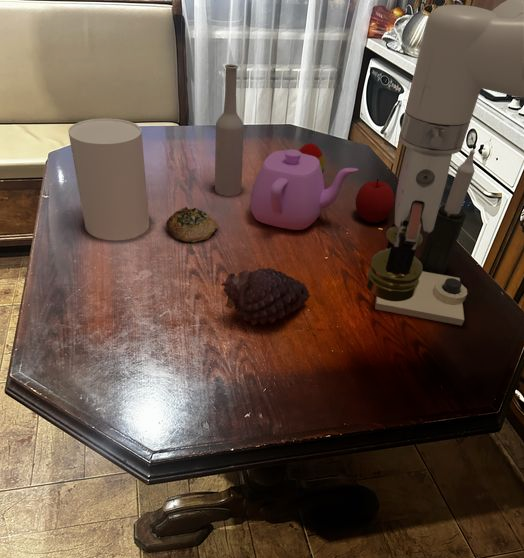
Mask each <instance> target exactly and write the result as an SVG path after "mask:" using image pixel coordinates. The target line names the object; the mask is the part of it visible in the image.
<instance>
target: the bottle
mask: <svg viewBox="0 0 524 558" xmlns="http://www.w3.org/2000/svg"><path fill="white" fill-rule="evenodd" d="M224 68H225V77H224V78H225V79H224V81H225V82H224V102H223V112H222V114H221V115H220V116H219V117H218V119H217V120H216V122H215V146H214V147H215V148H214V149H215V150H214V151H215V153H214V154H215V156H214V191H215V193H217V194H218V195H221V196H224V197H235V196H238V195H240V194H241V192H242V183H243V182H242V181H243V180H242V179H243V157H244V155H243V154H244V127H245V126H244V122H243V120H242V119H241V118H240V116H239V115H238V112H237V80H238V79H237V76H238V75H237V73H238V69H239V66H238V65H236V64H232V63H228V64H225V65H224Z"/></svg>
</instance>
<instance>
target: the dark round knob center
mask: <svg viewBox="0 0 524 558" xmlns="http://www.w3.org/2000/svg"><path fill="white" fill-rule="evenodd" d="M462 285H463V284H462V282H461V280H460V281H459V280H457V279H454V278H448V279H446V281H445V283H444V286H443V290H444V291H445V292H447V293H450V294H458V293H459V290H460V288H461V286H462Z"/></svg>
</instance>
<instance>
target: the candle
mask: <svg viewBox="0 0 524 558" xmlns="http://www.w3.org/2000/svg"><path fill="white" fill-rule="evenodd" d="M475 153H476V152H475V150H474V149H472V150H470V151H469V154H468V156H467V158H466V159H465V160H464V162H462V163H461V164H460V165H459V166H458V167H457V170H456V173H455V176H454V179H453V183H452V185H451V188H450V190H449V193H448V197H447V200H446V203H445V204H443V205H440V206H439V210H438V214H437V217H436V221H435V225H434V228H433V231H432V232H430V233H427V238H426V240H425V244H424V247H423V250H422V253H421V256H420V259H419V260H420V262H421V264H422V267H423V272H429V273H435V274H440V275H444V274H445V272H446V271H447V268H448V265H449V263H450V259H451V258H452V255H453V252H454V250H455V246H456V244H457V241H458V238H459V236H460V233H461V231H462V228H463V225H464V222H465V220H466V217H467V214H466V212H465V211H464V210H463V209H462V208H463V204H464V201H465V199H466V196H467V194H468V191H469V188H470V186H471V183H472V180H473V177H474V174H475V167H474V155H475Z"/></svg>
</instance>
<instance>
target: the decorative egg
mask: <svg viewBox="0 0 524 558" xmlns="http://www.w3.org/2000/svg"><path fill="white" fill-rule="evenodd" d="M298 151H300V152H301V153H302V154H307V155H311V156H314V157H316V158H317V159H318V160H319V162H320V166H321V170H322V174H323V175H324V172H325V158H324V155H323V152H322V150H321V149H320V147H319V146H318V145H316V144H315V143H312V142H310V143H305V144H303V146H301V147H300V148H299V150H298Z"/></svg>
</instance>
